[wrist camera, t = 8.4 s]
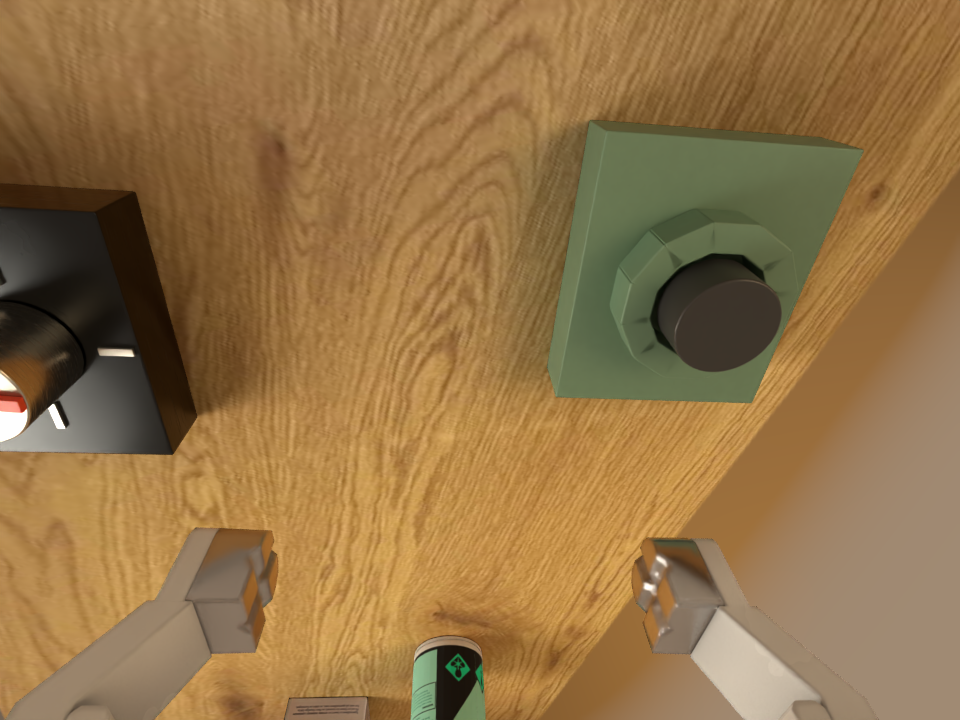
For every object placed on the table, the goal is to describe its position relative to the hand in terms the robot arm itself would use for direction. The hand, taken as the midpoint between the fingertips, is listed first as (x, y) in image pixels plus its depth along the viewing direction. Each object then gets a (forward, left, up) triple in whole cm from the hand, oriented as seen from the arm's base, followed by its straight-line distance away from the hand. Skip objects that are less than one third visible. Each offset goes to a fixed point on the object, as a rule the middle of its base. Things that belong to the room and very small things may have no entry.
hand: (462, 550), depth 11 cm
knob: (+3, -18, -12) cm, 22 cm away
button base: (-1, +10, -15) cm, 18 cm away
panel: (+3, -18, -15) cm, 24 cm away
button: (-1, +10, -11) cm, 15 cm away
